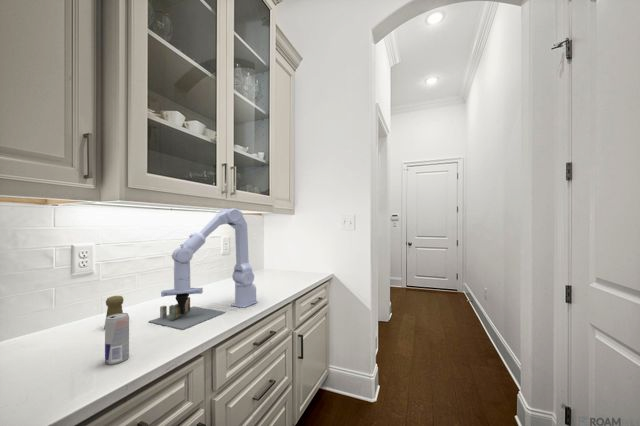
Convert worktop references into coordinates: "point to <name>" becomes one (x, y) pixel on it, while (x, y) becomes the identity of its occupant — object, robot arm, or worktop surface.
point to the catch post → (163, 312)
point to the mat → (188, 318)
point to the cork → (114, 305)
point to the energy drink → (116, 338)
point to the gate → (178, 310)
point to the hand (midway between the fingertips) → (182, 313)
